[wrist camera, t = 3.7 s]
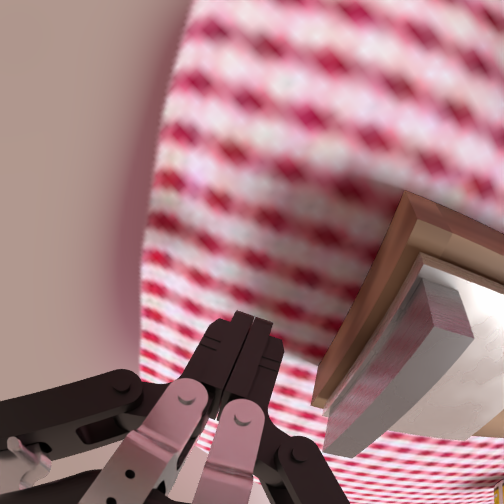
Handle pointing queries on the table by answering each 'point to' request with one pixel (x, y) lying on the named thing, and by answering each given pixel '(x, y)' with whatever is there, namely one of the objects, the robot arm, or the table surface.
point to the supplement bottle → (499, 493)
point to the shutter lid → (425, 363)
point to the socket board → (395, 272)
